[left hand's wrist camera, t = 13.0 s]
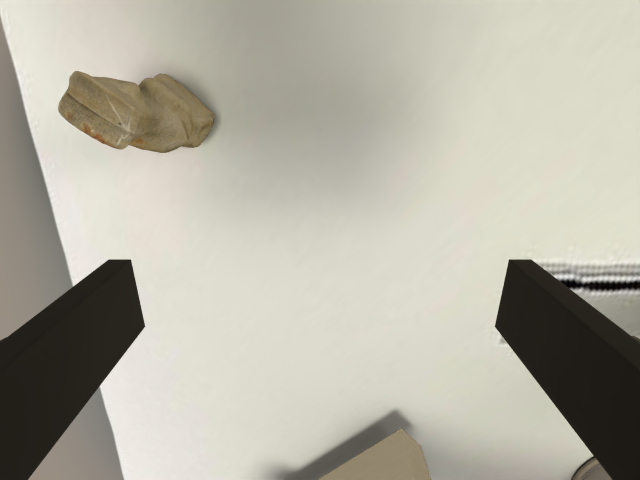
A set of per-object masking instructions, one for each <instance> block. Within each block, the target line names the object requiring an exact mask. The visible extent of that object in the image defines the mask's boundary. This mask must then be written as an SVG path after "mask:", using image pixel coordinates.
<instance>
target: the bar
mask: <svg viewBox="0 0 640 480" xmlns="http://www.w3.org/2000/svg"><path fill="white" fill-rule="evenodd" d="M318 480H431V477H430V474H429V471H428V467H427V464H426V461H425V457H424V454H423V450H422V447H421V445H420V444H418V443H417V442H416V441H415V440H414V439H413V438H412V437H411V436H410V435H409V434H408V433H406V432H405V431H404V430H403V429H402V428H401V429H400V430H398V431H396V432H395V433H393V434H391V435H390V436H388V437H387V438H385V439H383V440H382V441H380V442H378V443H377V444H375V445H373V446H372V447H370V448H369V449H367V450H365V451H364V452H362V453H360V454H359V455H357V456H356V457H354V458H352V459H351V460H349V461H347V462H346V463H344V464H342V465H341V466H339V467H338V468H336V469H334V470H333V471H331V472H329V473H328V474H326V475H324V476H323V477H321V478H320V479H318Z"/></svg>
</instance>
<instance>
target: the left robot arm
mask: <svg viewBox="0 0 640 480" xmlns="http://www.w3.org/2000/svg"><path fill="white" fill-rule="evenodd" d="M144 327H145V324H144V319H143V315H142V310H141V305H140V300H139V296H138V291H137V286H136V281H135V277H134V272H133V267H132V263H131V260H108V261H106V262H105V263H104V264H102V265H101V266H100V267H99V268H97V269H96V270H95V271H93V272H92V273H91V274H89V275H88V276H87V277H85V278H84V279H83V280H82V281H80V282H79V283H78V284H76V285H75V286H74V287H72V288H71V289H70V290H68V291H67V292H66V293H65V294H63V295H62V296H61V297H59V298H58V299H57V300H55V301H54V302H53V303H51V304H50V305H49V306H48V307H46V308H45V309H44V310H42V311H41V312H40V313H38V314H37V315H36V316H34V317H33V318H32V319H31V320H29V321H28V322H27V323H25V324H24V325H23V326H21V327H20V328H19V329H18V330H16V331H15V332H14V333H12V334H11V335H10V336H8V337H6V338H4V339H2V340H1V341H0V480H28V479H29V477H30V476H31V475H32V474H33V472H34V471H35V470H36V468H37V467H38V466H39V464H40V463H41V462H42V460H43V459H44V458H45V457H46V455H47V454H48V453H49V451H50V450H51V449H52V447H53V446H54V445H55V443H56V442H57V441H58V440H59V438H60V437H61V436H62V434H63V433H64V432H65V430H66V429H67V428H68V427H69V425H70V424H71V423H72V421H73V420H74V419H75V417H76V416H77V415H78V413H79V412H80V411H81V410H82V408H83V407H84V406H85V404H86V403H87V402H88V400H89V399H90V398H91V396H92V395H93V394H94V393H95V391H96V390H97V389H98V387H99V386H100V385H101V383H102V382H103V381H104V379H105V378H106V377H107V376H108V374H109V373H110V372H111V370H112V369H113V368H114V366H115V365H116V364H117V363H118V361H119V360H120V359H121V357H122V356H123V355H124V353H125V352H126V351H127V349H128V348H129V347H130V346H131V344H132V343H133V342H134V340H135V339H136V338H137V336H138V335H139V334H140V332H141V331H142V330H143V329H144ZM495 327H496V329H497V330H498V331H499V332H500V334H501V335H502V336H503V338H504V339H505V340H506V342H507V343H508V344H509V346H510V347H511V348H512V349H513V351H514V352H515V353H516V355H517V356H518V357H519V359H520V360H521V361H522V363H523V364H524V365H525V366H526V368H527V369H528V370H529V372H530V373H531V374H532V376H533V377H534V378H535V379H536V381H537V382H538V383H539V385H540V386H541V387H542V389H543V390H544V391H545V393H546V394H547V395H548V396H549V398H550V399H551V400H552V402H553V403H554V404H555V406H556V407H557V408H558V410H559V411H560V412H561V413H562V415H563V416H564V417H565V419H566V420H567V421H568V423H569V424H570V425H571V427H572V428H573V429H574V430H575V432H576V433H577V434H578V436H579V437H580V438H581V440H582V441H583V442H584V443H585V445H586V446H587V447H588V449H589V450H590V451H591V453H592V454H593V455H594V457H595V458H596V459H597V460H598V462H599V463H600V464H601V466H602V467H603V468H604V470H605V471H606V472H607V474H608V475H609V476H610V477H611V479H612V480H640V339H639V338H637V337H635V336H630V335H629V334H628V333H626V332H625V331H624V330H622V329H621V328H620V327H619V326H617V325H616V324H615V323H613V322H612V321H611V320H609V319H608V318H607V317H606V316H604V315H603V314H602V313H600V312H599V311H598V310H596V309H595V308H594V307H592V306H591V305H590V304H589V303H587V302H586V301H585V300H583V299H582V298H581V297H579V296H578V295H577V294H575V293H574V292H573V291H572V290H570V289H569V288H568V287H566V286H565V285H564V284H562V283H561V282H560V281H558V280H557V279H556V278H555V277H553V276H552V275H551V274H549V273H548V272H547V271H545V270H544V269H543V268H541V267H540V266H539V265H538V264H536V263H535V262H534V261H532V260H509V263H508V267H507V272H506V277H505V281H504V286H503V291H502V296H501V300H500V305H499V310H498V315H497V319H496V324H495Z"/></svg>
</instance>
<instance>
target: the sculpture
mask: <svg viewBox="0 0 640 480" xmlns="http://www.w3.org/2000/svg"><path fill="white" fill-rule="evenodd" d="M58 110H59V113H60V114H61V115H62V117H64V118H65V119H66V120H67V121H68V122H69V123H71V124H72V125H74V126H75V127H76V128H78V129H79V130H81V131H83V132H84V133H86V134H87V135H89V136H91V137H92V138H94V139H96V140H98V141H100V142H101V143H103V144H106V145H108V146H111V147H113V148H116V149H124V148H126V147H127V146H128V145H131V146H134V147H137V148H139V149H143V150H150V151H155V152H160V153H166V152H170V151H172V150H175V149H177V148H179V147H181V146H183V147H189V148H194V147H198V146H199V145H200V144H201V143H202V142H203V141H204V139H205V138H206V136H207V135H208V133H209V132H210V130H211V128H212V125H213V119H214V117H215V115H214V114H213V113H212V112H211V111H210V110H209V109H207V108H206V107H205V106H204V105H203V104H202V103H201V102H200V101H199V100H198V99H197V98H196V97H195V96H194V95H193V94H192V93H190V92H189V91H188V90H187V89H186V88H184V87H183V86H182V85H180V84H179V83H178V82H176V81H175V80H174V79H172V78H171V77H169V76H168V75H166V74H159V75H157V76H155V77H154V79H152V78H147V79H145V80H143V81H142V82H141V83H140V85H139V86H138V85H137V84H135V83H132V82H127V81H121V80H116V79H112V78H106V77H92V76H90V75H88V74H85V73H82V72H79V71H75V72H74V73H73V74H72V75H71V76H70V78H69V87H68V89H67V91H66V92H65V94H64V95H63V97H62V99H61V101H60V102H59V107H58Z"/></svg>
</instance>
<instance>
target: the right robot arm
mask: <svg viewBox="0 0 640 480" xmlns="http://www.w3.org/2000/svg"><path fill="white" fill-rule="evenodd" d="M573 480H612V479H611V477H610V476H609V475H608V474H607V472H606V471H605V470H604V468H603V467H602V466H601V464H600V463H599V462H598V460H597V459H596V458H593V459H592V460H590V461H589V462H587V463H586V464H585V465H584V466H582V467H581V468H580V469H579V471H578V472H577V473H576V474H575V476H574V478H573Z"/></svg>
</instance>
